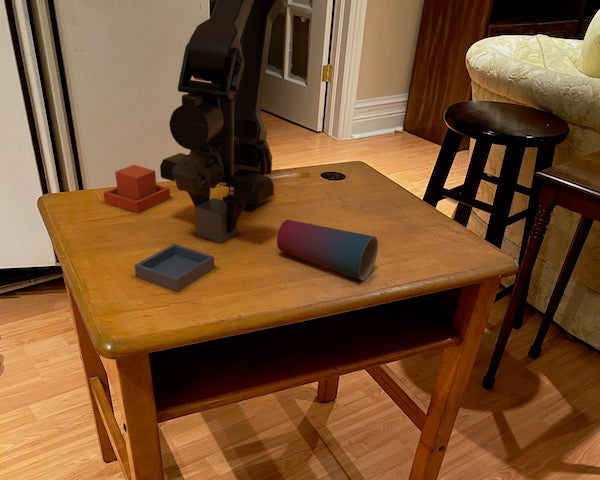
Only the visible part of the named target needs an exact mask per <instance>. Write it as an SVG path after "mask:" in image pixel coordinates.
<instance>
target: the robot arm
mask: <svg viewBox="0 0 600 480" xmlns="http://www.w3.org/2000/svg"><path fill="white" fill-rule="evenodd" d="M285 3H286V0H216V2H215V4H214V7H213V10H212V13H211V15H210V17H209V18H208V19H206V20H204V21H203V22H201V23H199V24H198V25H197V26H196V27H195V29H194V31H193V33H192V34H191V36H190V38H189V40H188V42H187V43H186V44H185V47H184V53H183V59H182V64H181V69H180V74H179V79H178V85H177V91H178V92H179V93H184V94H182V95H181V105H180V106H178V107H176V108H175V109H174V110H173V111H172V113H171V115H170V120H169V121H168V122H169V131H170V134H171V136H172V138H173V140H174V141H175V143H177V145H179V146H180V147H182V148H183V149H185V150H189V153H188V154H186V153H182V152H179V153H177V154H174V155H173V154H172V156H168V157H166V158H163V159H162V161H161V162H160V165H159V171H160V179H164V180H167V181H171V182H175V185H176V187H177V190H178V191H182V192H183V191H184V192H186V193H187V194H188V196H189V198H190V200H191V201H192V204H193V206H194V208H195V210H196V206H197V205H200V204H202V203H204V202H206V201H208V200H210V199H211V189H215V188H216V187H217V186H218V185H220V186H223V187H226V188H228V194H227V195H224V196H223V197H221V200H223V201H224V202H225V203H226V205H227V232H228V233H231V232H233V230H234V228H235V225H236V223H237V224H238V222H239V219H240V216H241V215H242V213H243V210H246V211H253V210H255V209H256V208H259V207H260V206H262V205H264V204H266V203H267V202H268V201H269V198H270V197H272V196H274V191H275V184H274V181H273V180H272V178H271V177H270V176H266V175H271V174H272V171H273V170H272V169H273V155H272V152H271V149H270V146H269V143H268V141H267V136H268V132H267V129H266V127H265V124H264V122H263V119H262V116H261V113H262V105H263V97H264V89H265V81H266V74H267V65H268V58H269V50H270V43H271V36H272V35H271V34H272V28H273V22H274V21H275V20H276V18H277V17H278V16H279V14H280V12H281V11H282V10H283V9H284V7H285ZM241 38H242V39H241ZM192 78H193V79H192ZM234 95H235V96H234Z"/></svg>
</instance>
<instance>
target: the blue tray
mask: <svg viewBox="0 0 600 480" xmlns="http://www.w3.org/2000/svg"><path fill="white" fill-rule="evenodd" d="M214 269H215V256H212V255H209V254H207V253H204V252H201V251H198V250H195V249H192V248H189V247H186V246H182V245H181V244H177V243H172V244H170V245H169V246H167V247H165V248H162V249H161V250H159V251H158V252H156V253H154V254H152V255H150V256H148V257H146V258H145V259H143V260H141V261H139V262H138V263H135V264H134V272H135V277H137V278H138V279H141V280H145V281H147V282H150V283H152V284H155V285H158V286H161V287H163V288H166V289H168V290H171V291H173V292H177V293H178V292H179V291H181V290H183V289H185V287H187V286H188V285H190V284H192V283H194V282H195V281H196V280H198V279H200V278H201V277H202V276H205V275H206V274H208V273H209V272H211V271H212V270H214Z"/></svg>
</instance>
